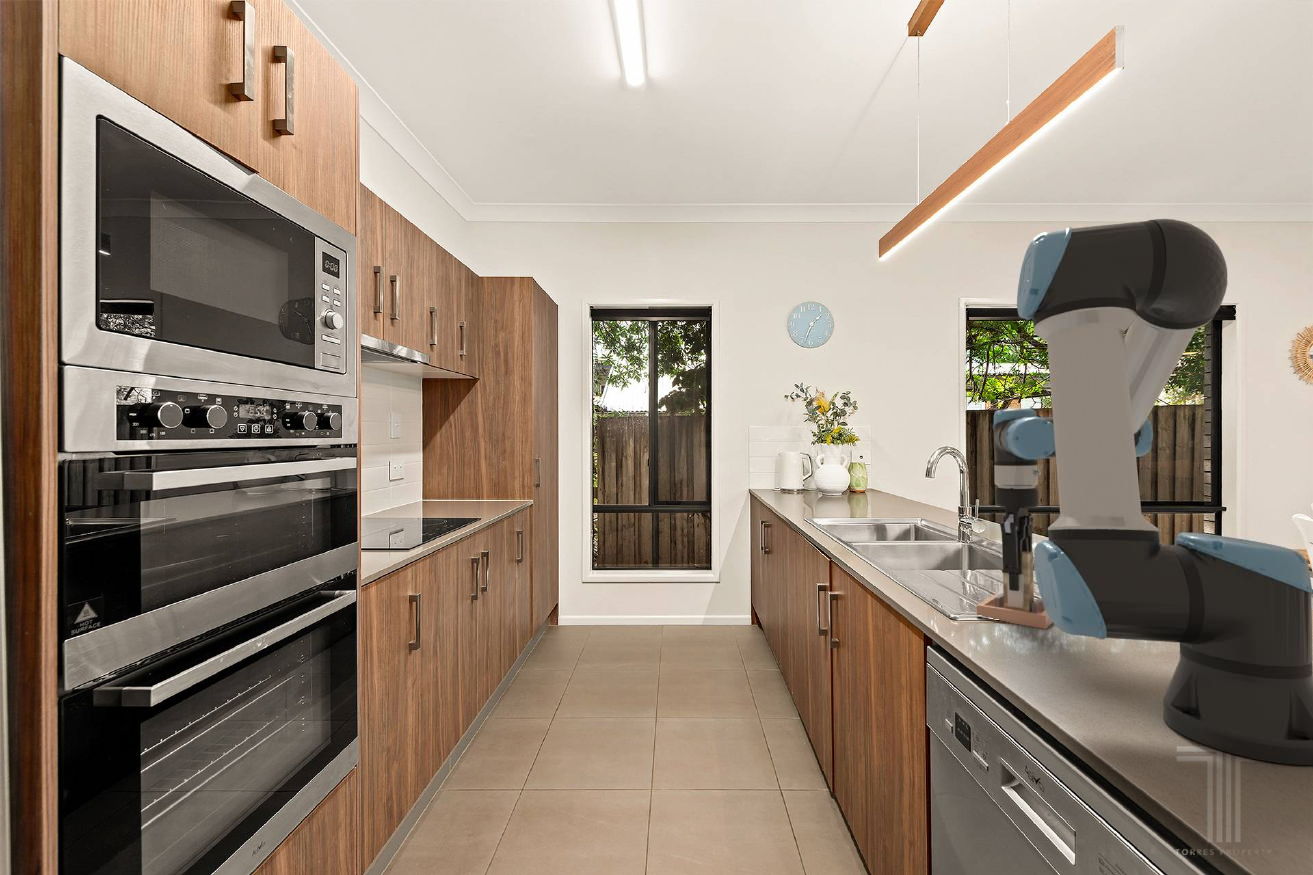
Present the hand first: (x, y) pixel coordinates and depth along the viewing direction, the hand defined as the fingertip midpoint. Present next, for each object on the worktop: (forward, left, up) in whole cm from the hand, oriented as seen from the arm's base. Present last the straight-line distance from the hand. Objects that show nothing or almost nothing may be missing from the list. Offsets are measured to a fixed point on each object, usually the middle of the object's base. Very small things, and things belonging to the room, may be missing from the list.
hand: (1019, 604), depth 127 cm
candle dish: (0, 0, -2) cm, 2 cm away
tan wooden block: (0, 0, -2) cm, 2 cm away
